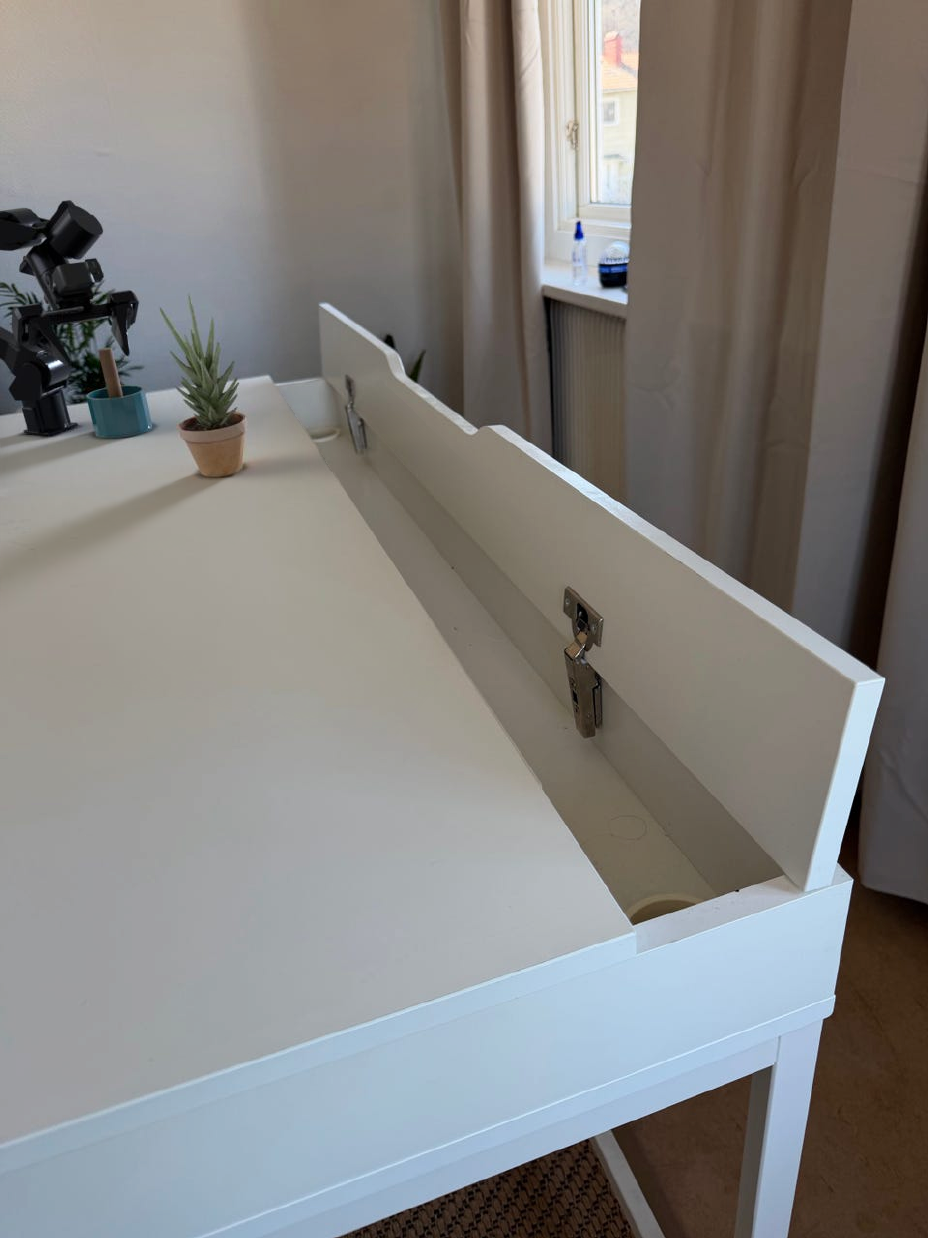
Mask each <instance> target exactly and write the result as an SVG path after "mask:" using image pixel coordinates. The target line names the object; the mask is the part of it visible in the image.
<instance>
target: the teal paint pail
mask: <svg viewBox="0 0 928 1238" xmlns="http://www.w3.org/2000/svg"><path fill="white" fill-rule="evenodd" d="M121 389H122V393H123V397H117V398H109V394H108V390H107V387H104V388H100V389H96V390H93V391H91V392H89V393H86V396H85V397H86V398H85V399H86V402H87V407H88V411H89V415H90V418H91V422H92V425H93V426H92V427H93V430H94V434H95V436H96V437H97V438H100V439H122V438H129V437H134V436H138V435H142V434H144V433H147V432H149V431H150V430H152V429H153V422H152V419H151V413H150V409H149V404H148V400H147V399H148V398H147V396H146V392H145V391H146V390H145V387H144V386H142V385H135V384H129V385H128V384H127V385H121Z"/></svg>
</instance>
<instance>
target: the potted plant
mask: <svg viewBox="0 0 928 1238" xmlns="http://www.w3.org/2000/svg"><path fill="white" fill-rule="evenodd" d="M187 298H188V305H189V310H190V316H191V324H192V328H193V329H190V339H191V342H190V341H189V339H188V337H187V335H186V333H184V335H183V336H184V339H183V337H182V336H181V335H180V333H179V331H178V330H177V328H176V327H175V326H174V324H173V323H172V322H171V320H170V319H169V317H168V316H167V315H166V313H165V312H164V311H163V308H162V307H161V306H160V305H159V306H158V308H159V312H160V314H161V316H162V318H163V320H164V322H165V324H166V326H167V327H168V329H169V330H170V332H171V334H172V336H173V337H174V339H175V341H176V343H177V344H178V346H179V348H180V349H181V351H182V352H183V353H184V355H185V360H186V363H187V365H186V364H185V363H183V361H181V360H180V359H179V358H178V356H176V355H175V354H174V352H173V351H171V350H169V353H170V354H171V356H172V358H173V359H174V361H175V363H176V364H177V366H179V368H180V369H181V371H182V372H183V373H184V374H185V375H186V376H187V377H188V379H189V380H190V381H191V382H192V384H193V385H192V384H191V383H190V382H189V381H188V380H187V379H186V378H185V377H184V376H180V378H181V381H180V384H181V385H182V386H183V387H184V388H185V389H186V390H187V392H188V393H187V392H185V391H184V390H182V389H181V388H179V387H178V386H177V385H173V387H174V388H175V389H176V391H178V392H179V393H180V394H181V395H182V396H183V397H184V398H185V399H182V401H184V403H185V404H186V405H187V406H188V407H189V408H190V409H191V410H193V411H194V412H195V413H193V415H194V416H191V417H189V418H186V419H184V420H182V421H181V422H179V423H178V424H177V430H178V431H177V432H178V434H179V438H180V439H181V440H183V441H184V442H185V444H186V446H187V449H188V450H189V452H190V453H191V456H192V457H193V460H194V461H195V464H196V466H197V468H198V470H199V471H200V473H201V475H203V476H205V477H210V478H219V477H220V478H221V477H228V476H231V475H235V474H236V473H238V472H240V471H241V470H242V469H243V463H244V452H245V451H244V449H245V440H246V439H245V438H246V432H247V430H248V427H249V426H248V419H247V416H246V415H245V414H244V413H243V412H242V413H241V412H238V411H237V409H238V406H236V407H235V408H234V409H232V410H231V411H229V409H230V408H231V407H232V405H233V403H234V402H235V400H236V399H237V398H238V393H236V391H237V389H238V387H239V385H240V382H237V381H238V377H235V378H234V379H233V381H232V382H231V383H230V386H229V387H228V388H227V390H226V391H224V390H225V388H226V385H227V384H228V381H229V380H230V377H231V375H232V372H233V369H234V367H235V360H232V361H231V364H230V365H229V366H228V367H227V369H226V370H225V372H224V373H223V374H222V375H221V376H220V375H219V374H220V361H221V359H220V357H221V344H220V342H219V341H217V343H216V346H215V323H214V317H212V318H211V322H210V325H209V333H208V338H207V339H208V340H207V346H206V350H205V355H204V351H203V345H202V342H201V336H200V332H199V327H198V324H197V320H196V313H195V310H194V306H193V303H192V298H191V296H190V293H189V292H187ZM215 347H216V348H215ZM235 393H236V394H235ZM196 413H197V414H196Z"/></svg>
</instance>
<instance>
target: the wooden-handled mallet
mask: <svg viewBox="0 0 928 1238" xmlns="http://www.w3.org/2000/svg"><path fill="white" fill-rule="evenodd" d="M97 352H98V356H99V360H100V364H101V365H100V366H101V368H102V373H103V377H104V381H105V386H106V388H107V390H108V394H109V398H117V397H123V393H122V389H121V386H122V384H121V381H120V376H119V373H118V368H117V364H116V363H117V362H116V359H115V355H114V350H113V348H112V347H101V348H99V349H98V350H97Z"/></svg>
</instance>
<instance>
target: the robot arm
mask: <svg viewBox="0 0 928 1238" xmlns="http://www.w3.org/2000/svg"><path fill="white" fill-rule="evenodd" d="M103 234H104V229H103V226H102V224H101V222H100V221H99V220H98V219H97V217H96V216H95V215H94V214H91V213H90V212H88V211H87V210H86V209H84V208H82V207H81V206H79V205H76V204H75V203H74V202H73V200H71V199H68V200H62V201H61V202H60V204H59V205H57V209H56V211H55V212H54V213H53V214H52V216H51V217H50V218H49V219H47V218H45V217H44V218H43V217H40V216H38V215H37V214H36V212H34V211H33V210H32V209H31V208H28V207H18V208H11V209H4V210H0V251H4V252H5V251H6V252H14V251H20V250H24V249H28V248H31V249H30V250H29V251H28V252H27V254H26V255H23V256H22V261H21V263H20V264H19V266H18V271H19V273H20V274H24V275H28V276H32V277H34V278H35V279H36V281H37V284H38V285H39V287H40V289H41V291H42V293H43V300H44V302H45V304H46V305H49V306H50V308H51V309H50V310H44V309H43V307H42V305H41V304H40V303H38V302H36V303H29V304H23V305H16V306H15V305H14V306H13V309H12V310H11V316H12V317H11V331H9V330H8V329H6V328H4V327H2V326H1V325H0V360H1V361H2V362H4V364H5V365H6V366H7V368H8V369H9V371H10V373H11V374H12V375H13V377H14V379H13V381H12V382H11V384H10V385H9V387H8V391H9V393H10V395H11V396H12V398H13V400H14V401H15V402H21V404H22V408H21V411H22V415H23V419H24V422H25V426H26V429H23V433H24V434H27V435H39V436H47V437H48V436H49V437H50V436H53V435H56V434H59V433H62V432H65V431H67V430H70V429H73V428H76V427H78V426H79V423H78V422H76V421H75V422H72V421H71V417H70V413H69V410H68V406H67V402H66V398H65V395H64V389H67V388H68V387H69V377H70V375H71V373H72V361H71V359H70V356H69V355H68V352H67V350H66V349H65V347H64V346H63V344H62V343H61V340H60V339H59V338H58V336H57V334H56V332H55V331H54V328H53V326H55V325H56V326H59V325H65V324H71V325H72V324H79V323H84V322H91V321H95V320H102V319H106V321H107V323H108V324H109V326H111V327H110V331H111V333H112V335H113V337H114V339H115V340H116V342H117V345H118V346H119V347H120V350H121V351H122V353H123V354H124V355H125V356H126V357H129V356H130V354H131V351H130V350H131V349H130V342H129V335H128V330H129V329H130V328H131V326H134V324H135V323H136V321H137V315H138V309H139V304H140V300H139V298H138V297H137V295H136V293H135V292H133V291H132V290H130V289H126V290H125V289H124V290H118V291H112V292H107V296H106V302H105V303H100V304H92V302H91V300H93V299H94V295H95V293H94V291H93V290H92V287H93V286H95V284H97V283H102V281H103V279H104V277H105V273H104V271H103V268H102V265H101V264H100V262H99V261H98V259H97V258H96V257H94V258H86V259H84V261H80V262H79V260H82V259H83V258H84V257H85V256H86V254H87V253H88V252H89V251H90V250H91V248H92V247H93V246H94V245H95V244H96V243H97V242H98V240H99V238H101V236H102V235H103ZM43 239H44V240H43ZM72 259H73V260H77V261H78V262H71V263H70V261H69V260H72Z"/></svg>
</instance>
